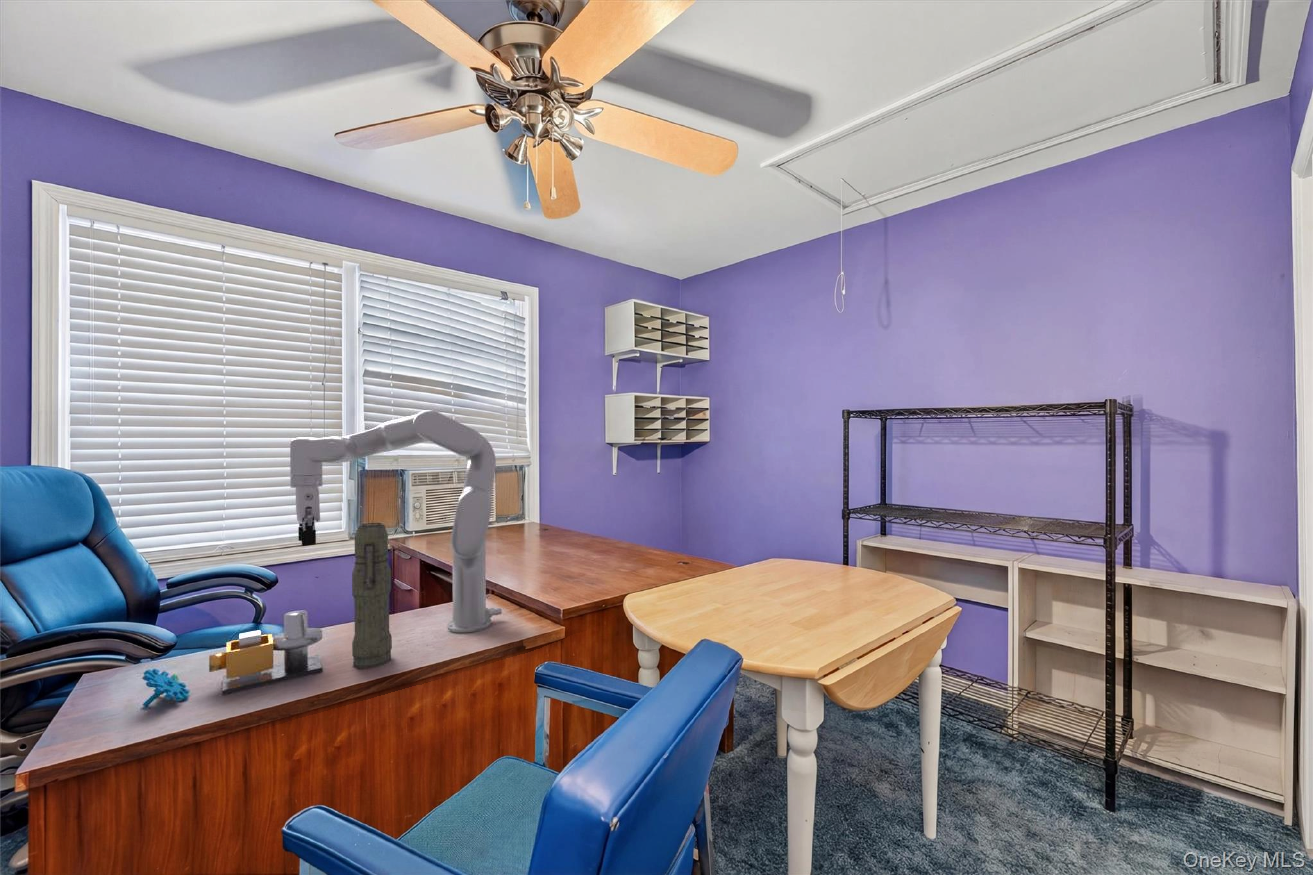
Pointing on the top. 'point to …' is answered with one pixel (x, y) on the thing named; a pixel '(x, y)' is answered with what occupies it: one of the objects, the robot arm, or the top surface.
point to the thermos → (371, 597)
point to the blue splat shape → (164, 686)
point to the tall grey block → (249, 641)
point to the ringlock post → (270, 656)
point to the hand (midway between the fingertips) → (307, 542)
